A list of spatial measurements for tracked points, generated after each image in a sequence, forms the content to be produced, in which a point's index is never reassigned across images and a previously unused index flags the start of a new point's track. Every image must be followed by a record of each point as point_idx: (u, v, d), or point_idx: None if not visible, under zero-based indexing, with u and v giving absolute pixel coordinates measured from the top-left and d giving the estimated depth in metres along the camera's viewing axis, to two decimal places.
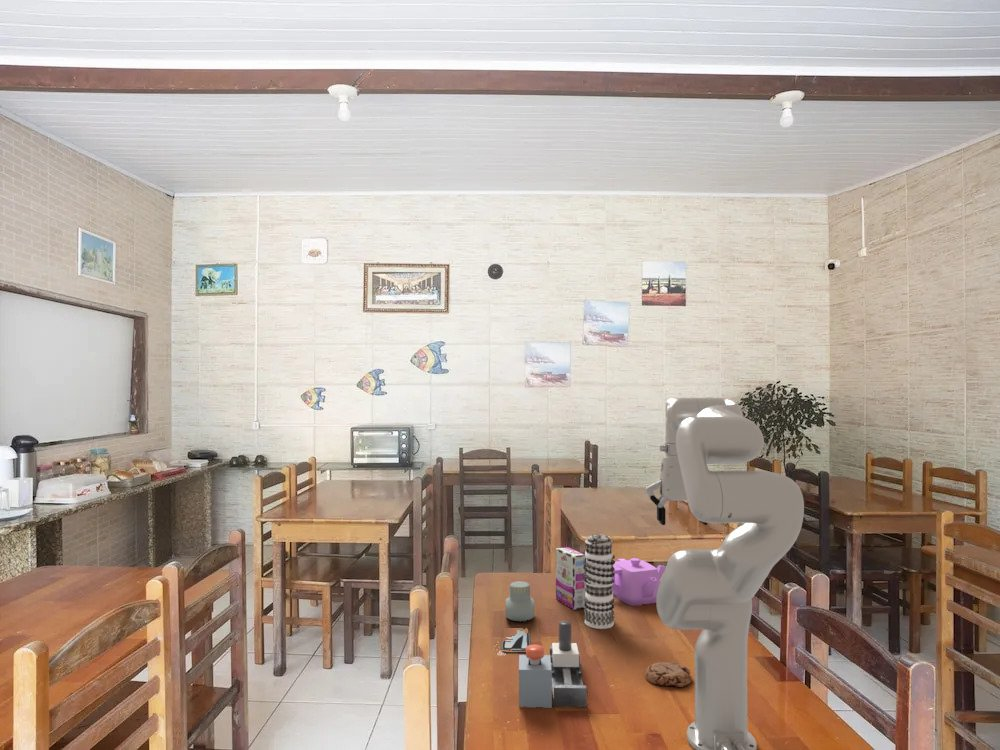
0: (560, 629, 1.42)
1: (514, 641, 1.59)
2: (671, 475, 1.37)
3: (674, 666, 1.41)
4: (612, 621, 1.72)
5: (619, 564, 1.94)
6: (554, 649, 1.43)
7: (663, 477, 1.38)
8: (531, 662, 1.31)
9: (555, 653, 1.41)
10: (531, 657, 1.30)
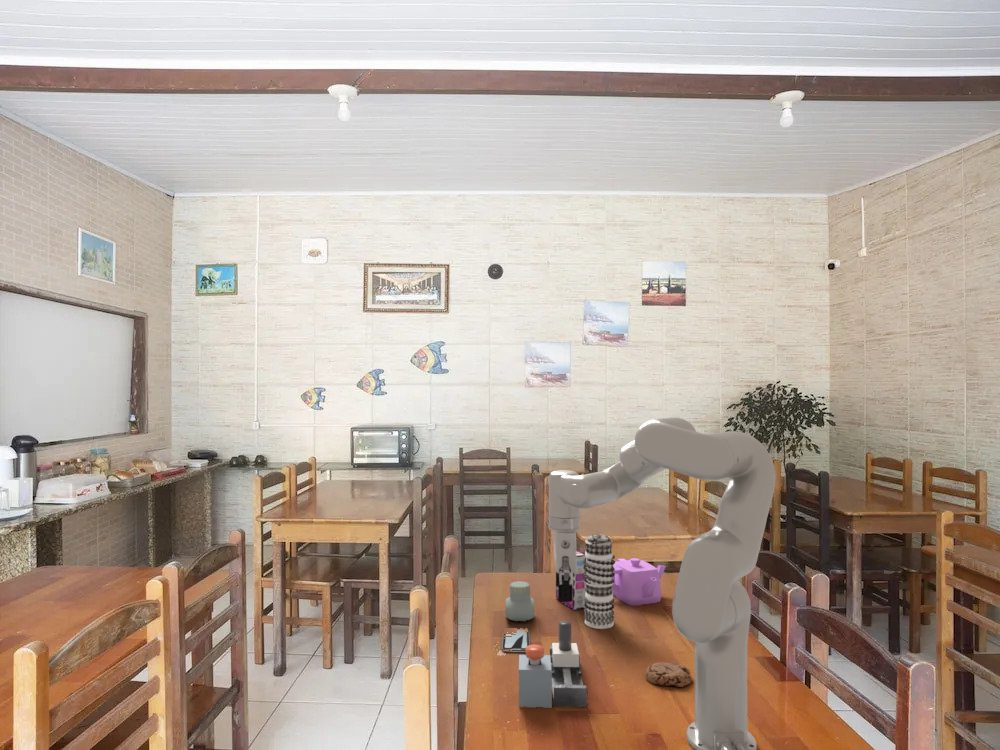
0: (560, 629, 1.42)
1: (514, 641, 1.59)
2: None
3: (674, 666, 1.41)
4: (612, 621, 1.72)
5: (619, 564, 1.94)
6: (554, 649, 1.43)
7: (573, 553, 1.39)
8: (531, 662, 1.31)
9: (555, 653, 1.41)
10: (531, 657, 1.30)
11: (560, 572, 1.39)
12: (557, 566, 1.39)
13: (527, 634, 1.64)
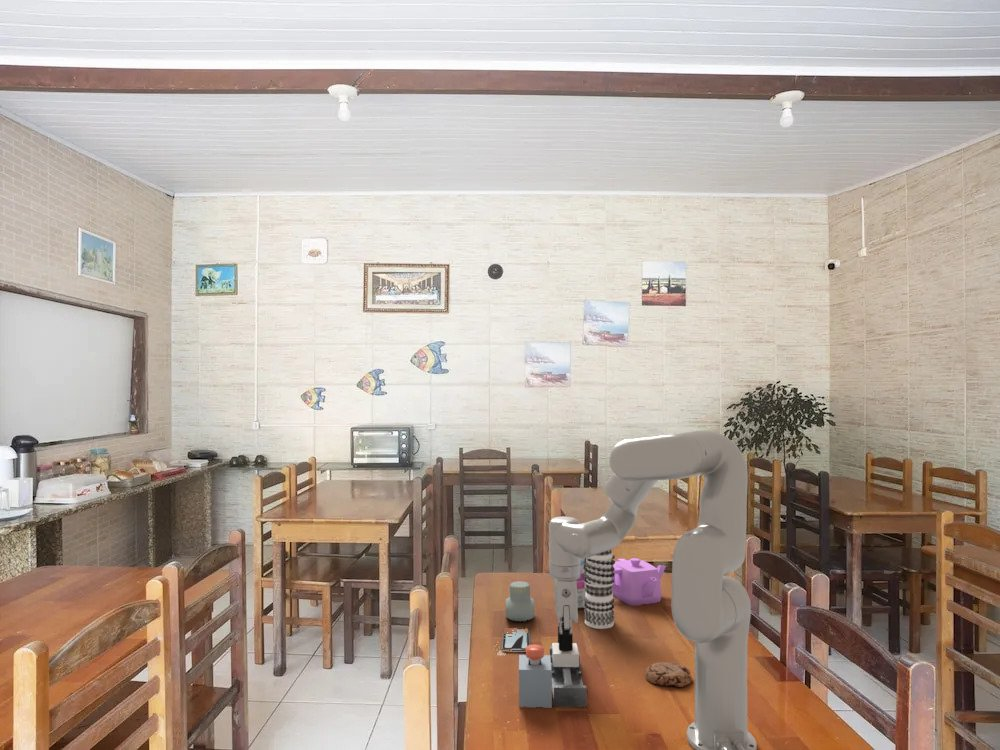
0: None
1: (514, 641, 1.59)
2: None
3: (674, 666, 1.41)
4: (612, 621, 1.72)
5: (619, 564, 1.94)
6: (554, 649, 1.43)
7: (573, 602, 1.38)
8: (531, 662, 1.31)
9: (555, 653, 1.41)
10: (531, 657, 1.30)
11: (561, 623, 1.40)
12: (558, 615, 1.39)
13: (527, 634, 1.64)
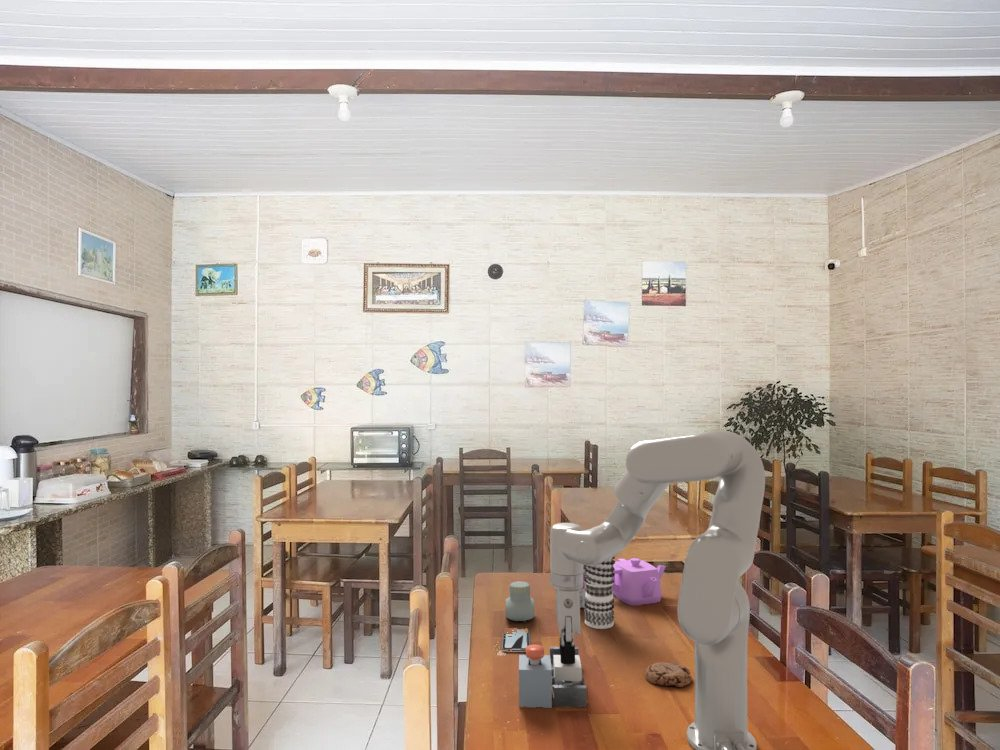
0: None
1: (514, 641, 1.59)
2: None
3: (674, 666, 1.41)
4: (612, 621, 1.72)
5: (619, 564, 1.94)
6: (556, 662, 1.36)
7: (576, 613, 1.32)
8: (531, 662, 1.31)
9: (556, 666, 1.34)
10: (531, 657, 1.30)
11: (562, 634, 1.34)
12: (560, 626, 1.32)
13: (527, 634, 1.64)
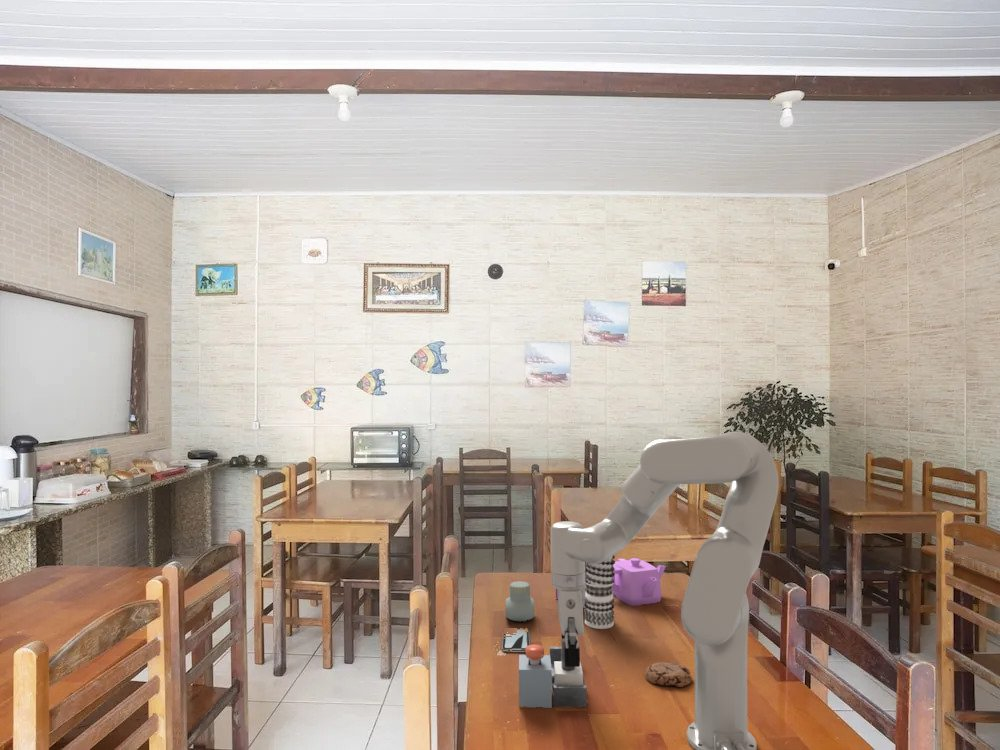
0: (563, 647, 1.33)
1: (514, 641, 1.59)
2: (582, 608, 1.30)
3: (674, 666, 1.41)
4: (612, 621, 1.72)
5: (619, 564, 1.94)
6: (556, 668, 1.33)
7: (579, 613, 1.28)
8: (531, 662, 1.31)
9: (557, 673, 1.31)
10: (531, 657, 1.30)
11: (566, 634, 1.29)
12: (562, 628, 1.29)
13: (527, 634, 1.64)
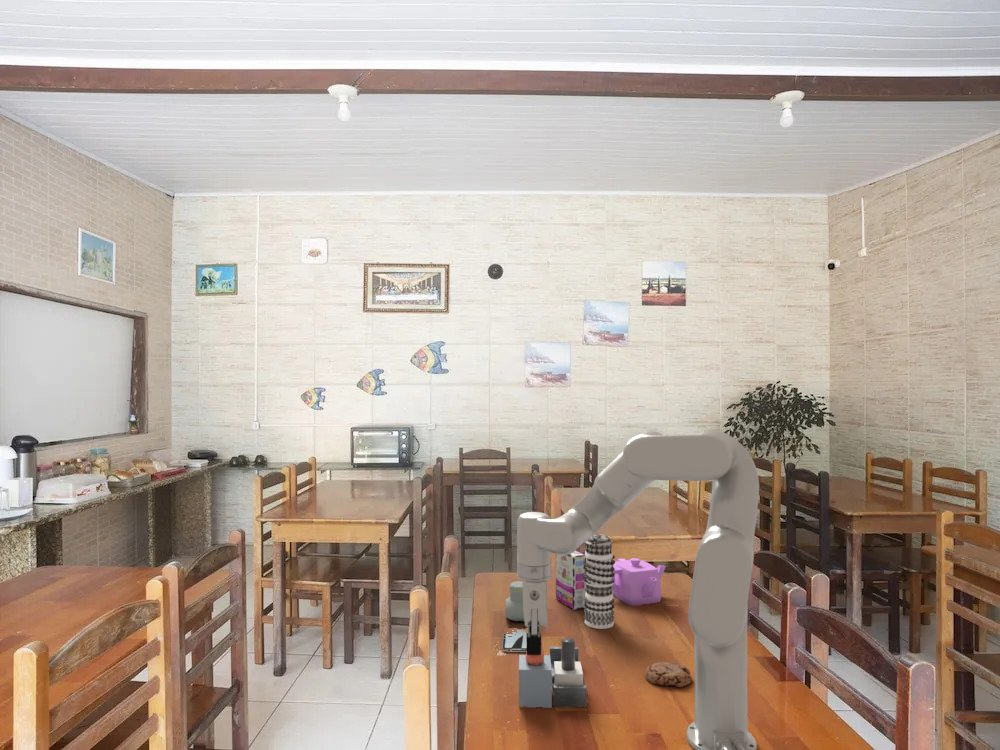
0: (563, 647, 1.33)
1: (514, 641, 1.59)
2: (546, 600, 1.28)
3: (674, 666, 1.40)
4: (612, 621, 1.72)
5: (619, 564, 1.94)
6: (556, 668, 1.33)
7: (542, 605, 1.27)
8: None
9: (557, 673, 1.31)
10: (531, 662, 1.30)
11: (528, 626, 1.30)
12: (525, 619, 1.27)
13: None
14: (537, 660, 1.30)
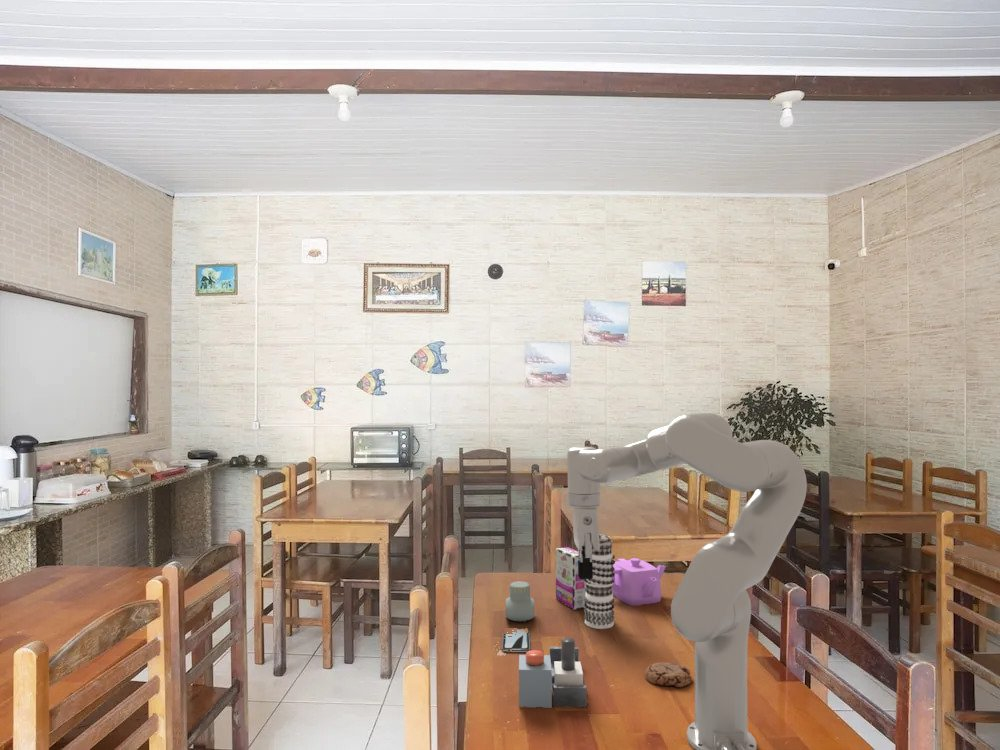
0: (563, 647, 1.33)
1: (514, 641, 1.59)
2: None
3: (674, 666, 1.41)
4: (612, 621, 1.72)
5: (619, 564, 1.94)
6: (556, 668, 1.33)
7: (595, 529, 1.36)
8: None
9: (557, 673, 1.31)
10: (531, 663, 1.30)
11: (581, 552, 1.38)
12: (579, 543, 1.36)
13: (527, 634, 1.64)
14: (537, 661, 1.30)
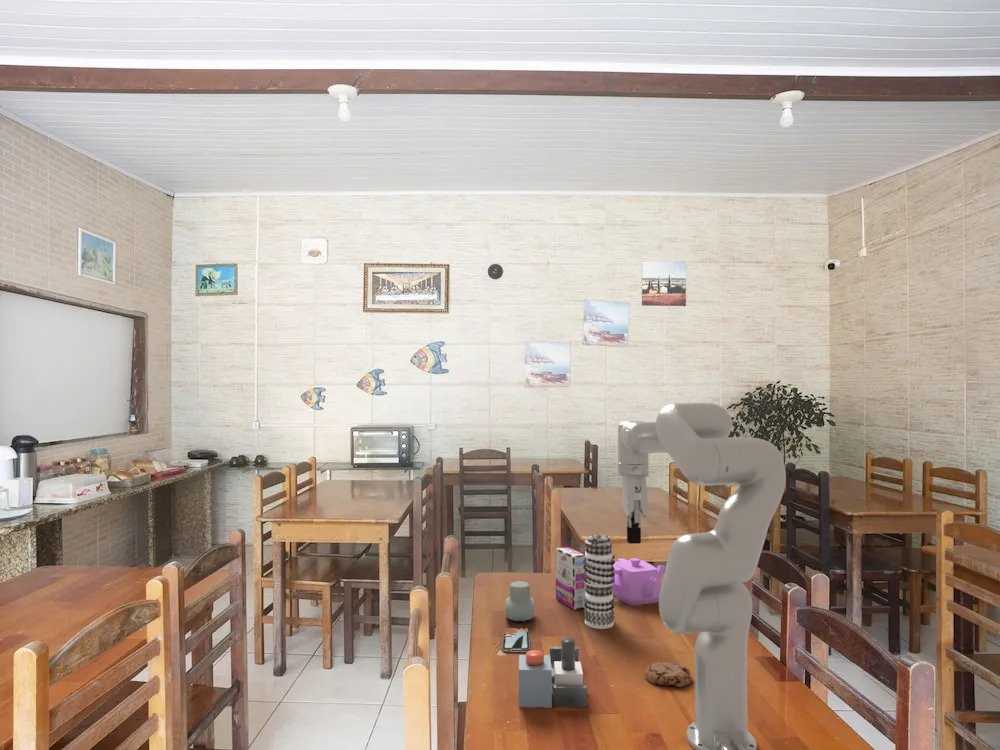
0: (563, 647, 1.33)
1: (514, 641, 1.59)
2: None
3: (674, 666, 1.40)
4: (612, 621, 1.72)
5: (619, 564, 1.94)
6: (556, 668, 1.33)
7: (644, 497, 1.46)
8: None
9: (557, 673, 1.31)
10: (531, 663, 1.30)
11: (630, 518, 1.49)
12: (629, 509, 1.46)
13: (527, 634, 1.64)
14: (537, 661, 1.30)
